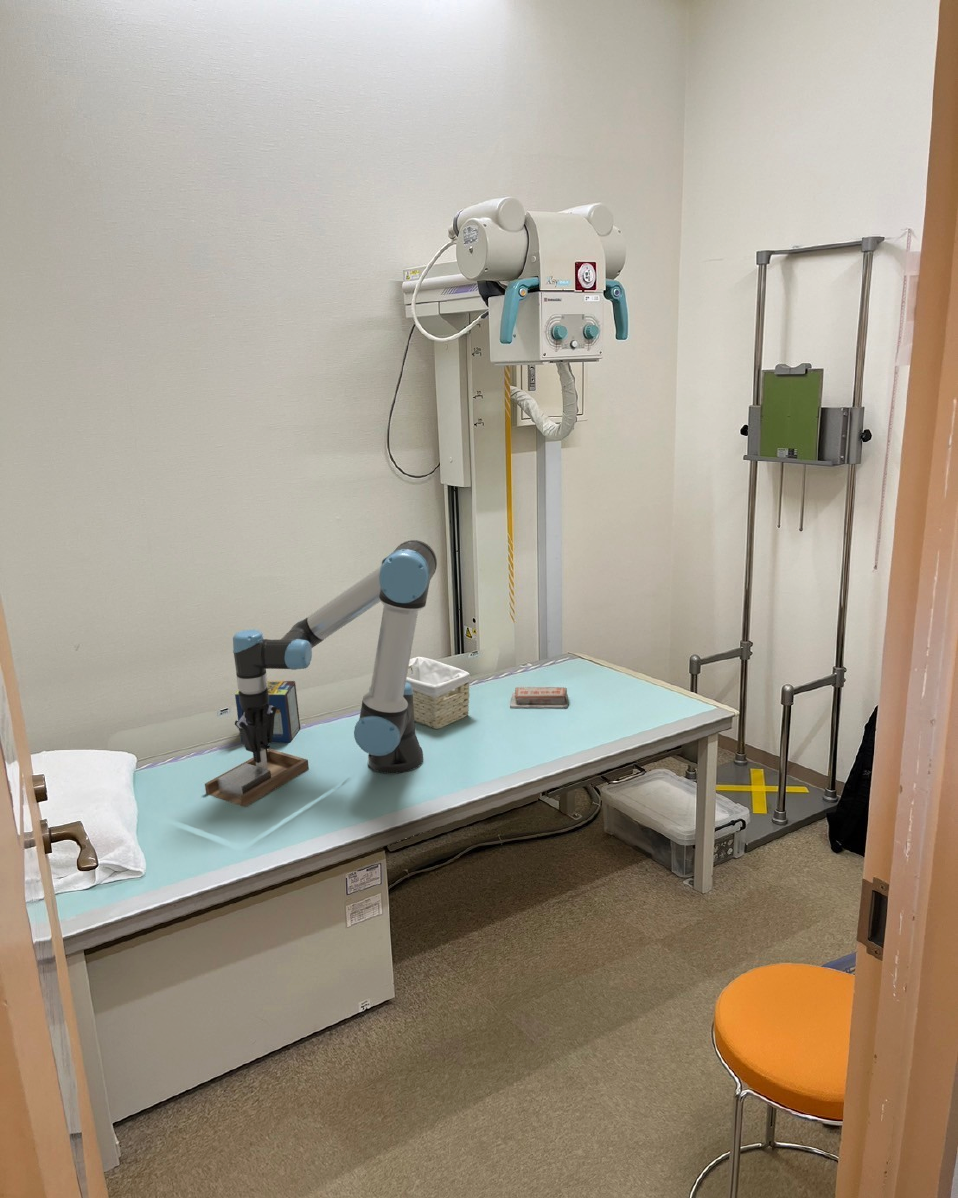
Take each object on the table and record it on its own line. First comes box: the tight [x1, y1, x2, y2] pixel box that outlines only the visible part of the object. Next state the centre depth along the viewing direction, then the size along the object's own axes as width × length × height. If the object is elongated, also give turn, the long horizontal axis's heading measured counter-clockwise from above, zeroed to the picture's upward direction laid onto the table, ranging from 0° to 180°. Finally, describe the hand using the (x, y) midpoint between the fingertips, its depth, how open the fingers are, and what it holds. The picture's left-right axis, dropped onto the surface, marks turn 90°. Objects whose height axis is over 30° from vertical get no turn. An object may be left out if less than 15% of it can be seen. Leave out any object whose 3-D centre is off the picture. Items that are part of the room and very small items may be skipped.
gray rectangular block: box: [217, 763, 271, 800], centre depth 239 cm, size 9×10×4 cm
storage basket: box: [406, 656, 472, 730], centre depth 282 cm, size 24×16×15 cm
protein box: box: [234, 680, 301, 744], centre depth 271 cm, size 10×15×16 cm
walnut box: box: [204, 748, 309, 808], centre depth 243 cm, size 14×23×4 cm, turn 147°
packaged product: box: [509, 686, 569, 710], centre depth 289 cm, size 18×5×10 cm
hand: (262, 771), depth 244 cm, fingers closed
